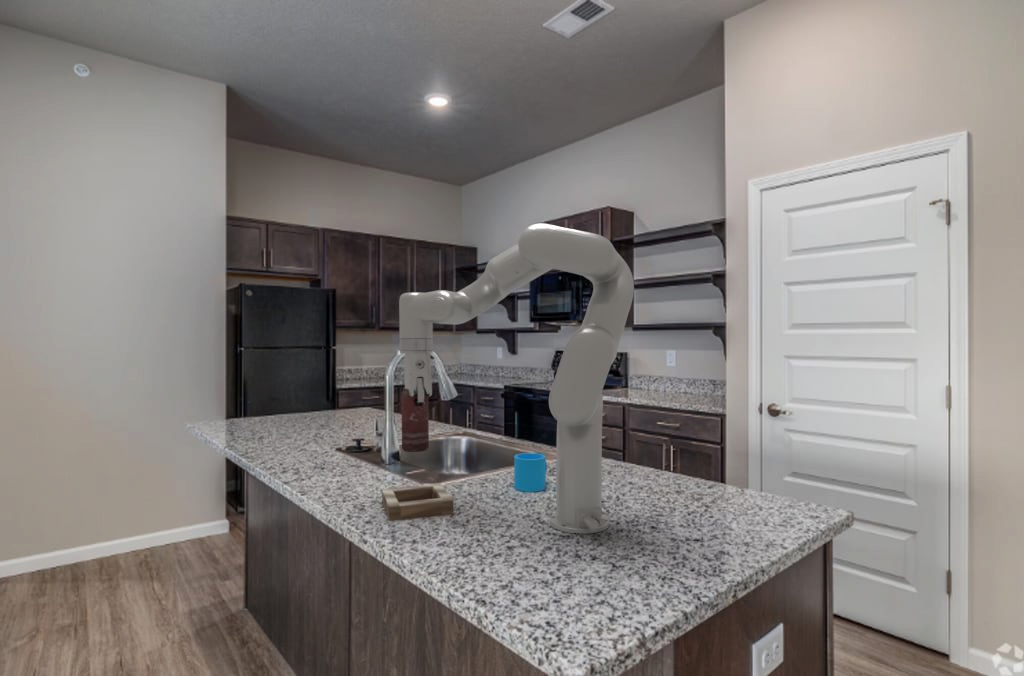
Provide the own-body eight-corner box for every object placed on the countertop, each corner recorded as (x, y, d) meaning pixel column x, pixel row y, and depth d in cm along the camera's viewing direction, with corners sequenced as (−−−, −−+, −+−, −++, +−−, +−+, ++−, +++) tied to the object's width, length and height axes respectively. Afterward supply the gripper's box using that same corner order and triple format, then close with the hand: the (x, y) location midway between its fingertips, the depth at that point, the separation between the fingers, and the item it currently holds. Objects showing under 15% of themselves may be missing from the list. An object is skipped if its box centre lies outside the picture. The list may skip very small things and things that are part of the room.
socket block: (453, 514, 122) (453, 499, 122) (389, 521, 117) (388, 506, 117) (440, 497, 135) (440, 483, 135) (382, 503, 130) (382, 489, 130)
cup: (431, 446, 129) (431, 387, 129) (424, 452, 123) (424, 390, 123) (406, 446, 130) (406, 387, 130) (398, 452, 124) (397, 390, 124)
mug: (534, 493, 138) (534, 461, 138) (508, 488, 143) (508, 457, 143) (558, 483, 148) (558, 452, 148) (533, 478, 152) (533, 449, 152)
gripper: (439, 346, 120) (439, 430, 120) (426, 346, 134) (427, 421, 134) (404, 347, 117) (405, 432, 117) (395, 346, 132) (396, 422, 132)
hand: (416, 426), depth 126 cm, fingers closed, pressing on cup
